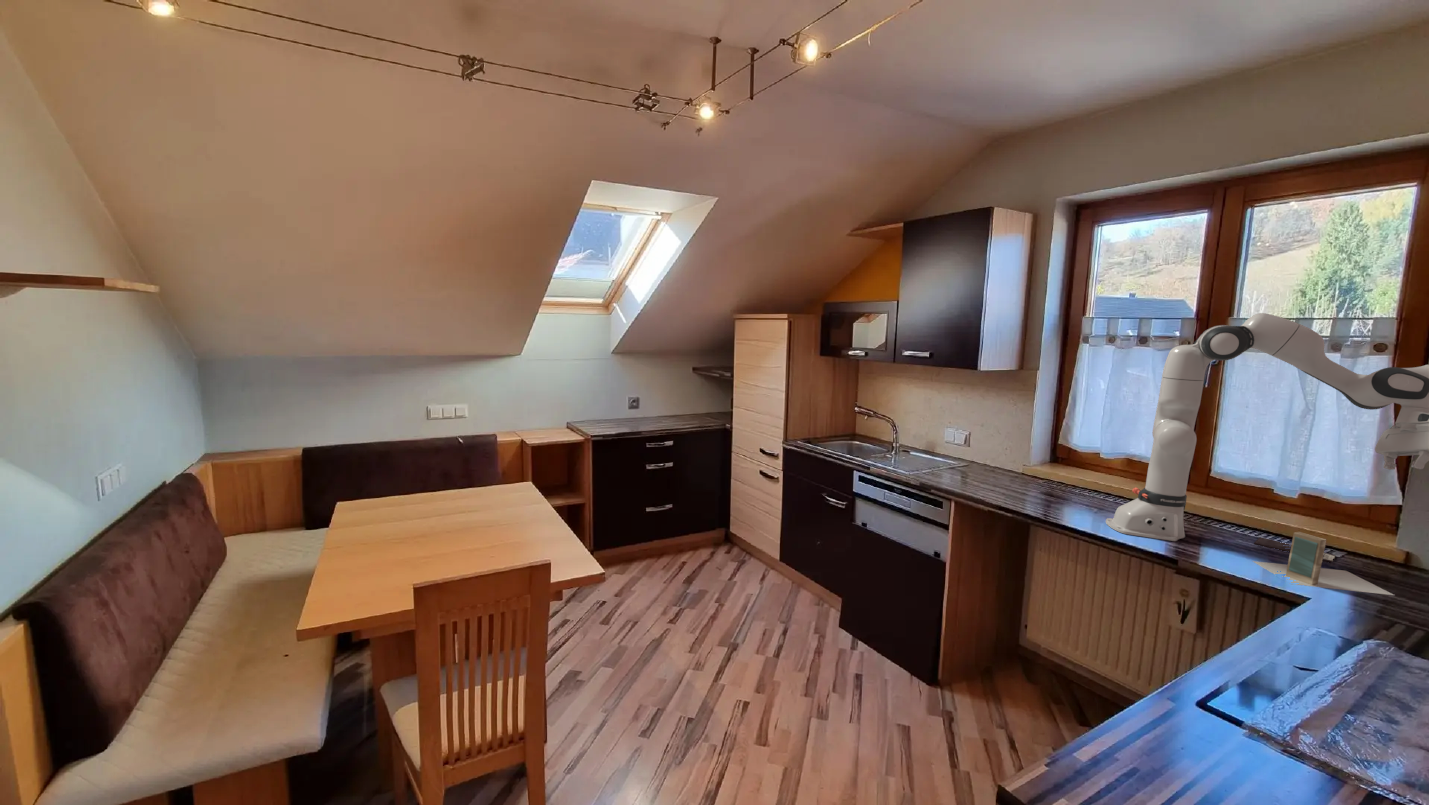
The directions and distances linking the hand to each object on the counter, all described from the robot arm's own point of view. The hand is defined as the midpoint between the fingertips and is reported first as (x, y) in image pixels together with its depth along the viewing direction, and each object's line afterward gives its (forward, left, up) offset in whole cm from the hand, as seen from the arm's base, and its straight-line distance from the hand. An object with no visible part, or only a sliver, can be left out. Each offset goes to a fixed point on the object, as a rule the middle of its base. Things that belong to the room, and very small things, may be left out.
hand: (1402, 468), depth 166 cm
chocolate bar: (-8, +21, -34) cm, 40 cm away
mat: (-17, -3, -33) cm, 37 cm away
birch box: (-24, -7, -33) cm, 41 cm away
